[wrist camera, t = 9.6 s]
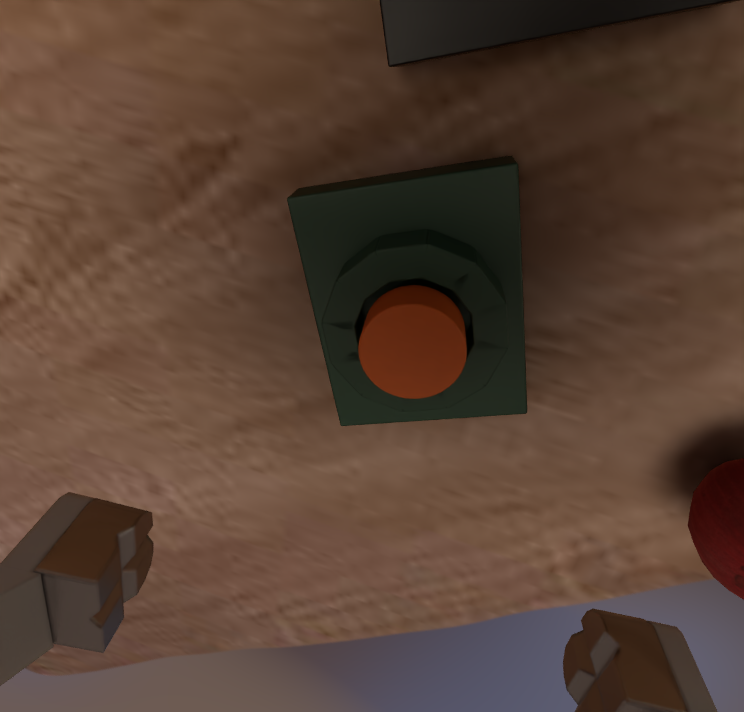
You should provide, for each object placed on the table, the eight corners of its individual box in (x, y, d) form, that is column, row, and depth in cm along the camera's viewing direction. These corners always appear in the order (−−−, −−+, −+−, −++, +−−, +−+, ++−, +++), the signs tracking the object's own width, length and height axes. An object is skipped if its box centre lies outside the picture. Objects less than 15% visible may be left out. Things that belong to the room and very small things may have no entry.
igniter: (297, 188, 20) (271, 209, 17) (512, 154, 19) (526, 171, 16) (346, 405, 25) (333, 453, 22) (522, 392, 23) (534, 441, 20)
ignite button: (356, 290, 18) (348, 310, 17) (460, 278, 18) (461, 298, 16) (373, 378, 20) (367, 403, 19) (469, 369, 19) (471, 395, 18)
